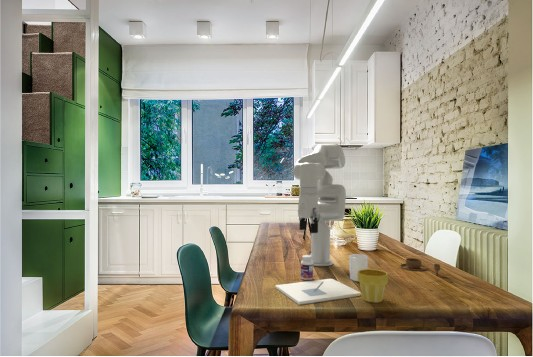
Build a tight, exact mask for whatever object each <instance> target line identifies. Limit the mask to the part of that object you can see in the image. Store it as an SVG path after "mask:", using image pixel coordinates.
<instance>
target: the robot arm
mask: <svg viewBox="0 0 533 357" xmlns="http://www.w3.org/2000/svg"><path fill="white" fill-rule="evenodd" d="M343 150H344V149H343V148H342V146H341V145H340V144H338V143H321V144H318V145H316V146H315V147H314V148H313V151H312V152H311V153H309V154H307V155H304V156H302V157H300V158H298V159H297V161H296V163H295V164H294V166H293V171H292V172H293V174H292V175H293V176H294V178H295V179H297V180H299V197H298V206H297V216H298V221H299V224H298V225H299V230H300V231H304V230H305V231H306V230H307V219H309V220H310V233H311V234H310V235H311V237H310V238H311V239H310V241H311V242H310V243H311V244H310V246H311V247H310V249H311V250H310V252H311V253H309V255H310V256H312V260H311V261H313V267H330V266H333V265H334V261H333V260H331V228H330V226H329V224H327V222H329V221H330V222H340V221H342V220H344V217H345V213H346V212H345V210H346V199H347V198H346V197H347V194H346V188H345V186H344V185H342V184H339V183H338V184H336V183H335V184H333V180H334V179H333V176H332V174H331V173H329V171H327V170H326V169H330V170H331V169H333V170H335V169H339V170H340V169H342V168H344V167H345V164H346V157H345V154H344V151H343ZM326 221H327V222H326Z"/></svg>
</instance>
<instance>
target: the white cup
mask: <svg viewBox="0 0 533 357" xmlns="http://www.w3.org/2000/svg"><path fill="white" fill-rule="evenodd" d="M368 258H369V256H368V255H366V254H360V253H359V254H357V253H351V254H349V255H348V268H349V269H348V270H349V279H350V280H351V281H354V282H359V281H358V271H359V270H362V269H368V263H369V262H368V261H369V260H368Z"/></svg>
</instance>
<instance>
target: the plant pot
mask: <svg viewBox="0 0 533 357" xmlns="http://www.w3.org/2000/svg"><path fill="white" fill-rule="evenodd" d="M357 282H359V285H360V286H359V287H360V291H361V297H362V299H363V301H365V302H367V303H368V302H369V303H381V302H382V301H383V298H384V295H385V291H386V290H385V289H386V285H387V284H388V283H389V273H388V272H387V271H385V270H380V269H375V268H374V269H373V268H367V269H362V270H359V271H358V281H357Z"/></svg>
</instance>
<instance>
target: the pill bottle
mask: <svg viewBox="0 0 533 357" xmlns="http://www.w3.org/2000/svg"><path fill="white" fill-rule="evenodd" d="M301 258H302V260H301V261H300V279H301V280H305V281H313V279H314V265H313V261H311V260H312V256H310V254H303V255H302V257H301Z"/></svg>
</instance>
